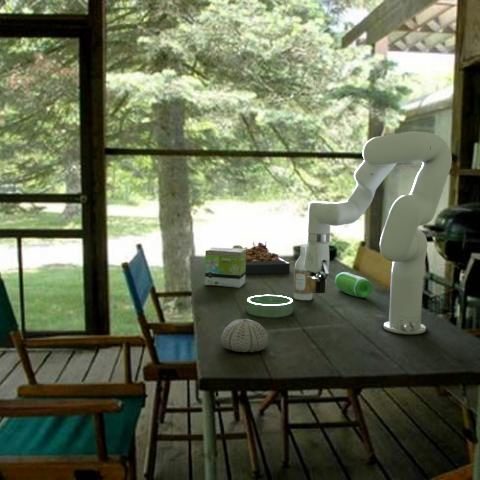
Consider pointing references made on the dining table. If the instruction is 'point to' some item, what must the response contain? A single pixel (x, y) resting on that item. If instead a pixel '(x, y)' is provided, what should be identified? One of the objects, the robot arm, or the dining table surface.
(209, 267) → the tea box
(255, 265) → the food platter
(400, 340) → the dining table surface
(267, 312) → the bowl
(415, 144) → the robot arm
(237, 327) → the sea urchin shell
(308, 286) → the maple cube
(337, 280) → the speaker
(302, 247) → the bath foam
